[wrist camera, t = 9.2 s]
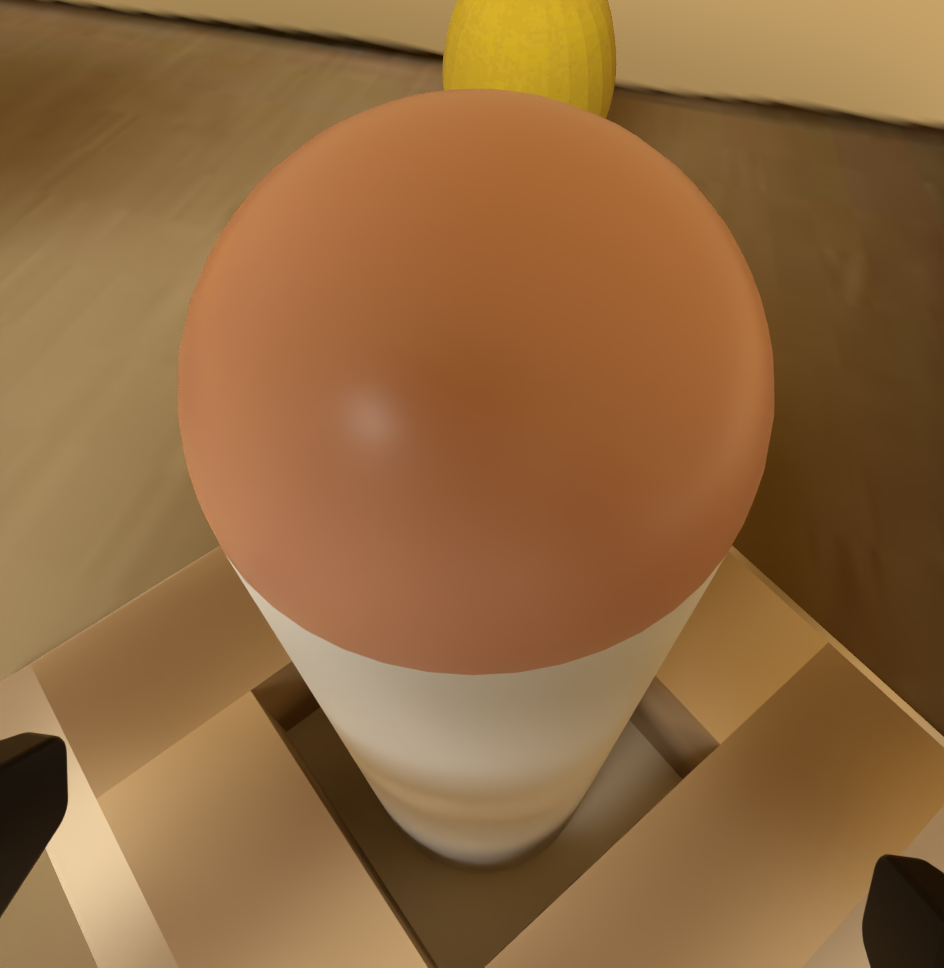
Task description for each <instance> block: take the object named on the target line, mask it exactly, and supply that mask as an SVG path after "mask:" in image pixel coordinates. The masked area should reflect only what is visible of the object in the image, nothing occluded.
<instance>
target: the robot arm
mask: <svg viewBox="0 0 944 968" xmlns="http://www.w3.org/2000/svg"><path fill="white" fill-rule="evenodd" d="M67 805H68V773H67V749H66V744H65V742H64V741H63V739H61V738H60V737H59V736H54V735H47V734H40V733H33V732H25V733H21V734H18V735H15V736H12V737H9V738H6V739H3V740H0V917H1V916H2V914H3V913H4V911H5V910H6V908H7V907H8V905H9V903H10V902H11V900H12V899H13V897H14V896H15V894H16V893H17V891H18V890H19V888H20V886H21V885H22V883H23V882H24V880H25V879H26V877H27V876H28V874H29V873H30V871H31V869H32V868H33V866H34V865H35V863H36V862H37V860H38V859H39V857H40V856H41V854H42V852H43V851H44V849H45V848H46V846H47V845H48V843H49V842H50V840H51V839H52V837H53V835H54V834H55V832H56V831H57V829H58V828H59V826H60V824H61V822H62V820H63V818H64V816H65V813H66V810H67ZM862 937H863V943H864V947H865V951H866V954H867V958H868V961H869V964H870V968H944V873H943V872H942V871H940V870H939V869H937V868H936V867H934V866H933V865H931V864H930V863H929V862H927V861H925V860H922V859H919V858H913V857H906V856H898V855H891V854H885V855H883V856H881V857H880V858H879V859H878V860H877V862H876V865H875V867H874V871H873V876H872V880H871V884H870V889H869V893H868V897H867V901H866V906H865V910H864V914H863V920H862Z"/></svg>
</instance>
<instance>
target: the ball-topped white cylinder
mask: <svg viewBox="0 0 944 968" xmlns="http://www.w3.org/2000/svg"><path fill="white" fill-rule="evenodd" d="M178 419H179V425H180V432H181V439H182V445H183V450H184V455H185V459H186V464H187V469H188V472H189V475H190V478H191V481H192V484H193V487H194V490H195V493H196V496H197V499H198V502H199V504H200V506H201V508H202V511H203V513H204V515H205V517H206V519H207V521H208V523H209V525H210V527H211V529H212V531H213V533H214V535H215V537H216V538H217V540H218V542H219V544H220V546H221V548H222V550H223V552H224V553H225V555H226V557H227V558H228V560H229V561H230V563H231V565H232V566H233V568H234V569H235V571H236V572H237V574H238V576H239V577H240V579H241V580H242V582H243V584H244V585H245V587H246V588H247V590H248V592H249V593H250V595H251V596H252V598H253V600H254V601H255V603H256V604H257V606H258V608H259V609H260V611H261V612H262V614H263V616H264V617H265V619H266V620H267V622H268V623H269V625H270V627H271V628H272V630H273V631H274V633H275V635H276V636H277V638H278V639H279V641H280V643H281V644H282V646H283V647H284V649H285V651H286V652H287V654H288V655H289V657H290V659H291V660H292V662H293V663H294V665H295V666H296V668H297V670H298V671H299V673H300V674H301V676H302V678H303V679H304V681H305V682H306V684H307V686H308V687H309V689H310V690H311V692H312V694H313V695H314V697H315V698H316V700H317V702H318V703H319V705H320V706H321V708H322V710H323V711H324V713H325V714H326V716H327V717H328V719H329V721H330V722H331V724H332V725H333V727H334V729H335V730H336V732H337V733H338V735H339V737H340V738H341V740H342V741H343V743H344V745H345V746H346V748H347V749H348V751H349V753H350V754H351V756H352V757H353V759H354V761H355V762H356V764H357V765H358V767H359V768H360V770H361V772H362V773H363V775H364V776H365V778H366V780H367V781H368V783H369V784H370V786H371V788H372V789H373V791H374V792H375V794H376V796H377V797H378V799H379V800H380V802H381V804H382V805H383V807H384V808H385V810H386V812H387V813H388V815H389V816H390V818H391V819H392V821H393V823H394V824H395V826H396V827H397V828H398V830H399V831H400V832H401V834H402V835H403V836H404V837H405V838H406V839H407V840H408V841H409V843H410V844H411V845H412V846H413V847H415V848H416V849H417V850H419V851H420V852H421V853H422V854H424V855H425V856H427V857H429V858H430V859H432V860H434V861H436V862H437V863H440V864H442V865H445V866H447V867H450V868H453V869H457V870H462V871H467V872H478V873H482V872H496V871H501V870H505V869H510V868H512V867H515V866H518V865H520V864H523V863H525V862H527V861H528V860H530V859H532V858H534V857H536V856H537V855H538V854H540V853H541V852H542V851H544V850H545V849H546V848H548V847H549V846H550V845H551V844H552V843H553V842H554V841H555V840H556V839H557V838H558V836H559V835H560V834H561V832H562V831H563V830H564V829H565V827H566V826H567V824H568V823H569V821H570V819H571V817H572V816H573V814H574V812H575V811H576V809H577V807H578V806H579V804H580V802H581V800H582V799H583V797H584V795H585V794H586V792H587V790H588V789H589V787H590V785H591V784H592V782H593V780H594V778H595V777H596V775H597V773H598V772H599V770H600V768H601V767H602V765H603V763H604V761H605V760H606V758H607V756H608V755H609V753H610V751H611V750H612V748H613V746H614V745H615V743H616V741H617V739H618V738H619V736H620V734H621V733H622V731H623V729H624V728H625V726H626V724H627V722H628V721H629V719H630V717H631V716H632V714H633V712H634V711H635V709H636V707H637V706H638V704H639V702H640V700H641V699H642V697H643V695H644V694H645V692H646V690H647V689H648V687H649V685H650V683H651V682H652V680H653V678H654V677H655V675H656V673H657V672H658V670H659V668H660V667H661V665H662V663H663V661H664V660H665V658H666V656H667V655H668V653H669V651H670V650H671V648H672V646H673V644H674V643H675V641H676V639H677V638H678V636H679V634H680V633H681V631H682V629H683V628H684V626H685V624H686V622H687V621H688V619H689V617H690V616H691V614H692V612H693V611H694V609H695V607H696V605H697V604H698V602H699V600H700V599H701V597H702V595H703V594H704V592H705V590H706V589H707V587H708V585H709V583H710V582H711V580H712V578H713V577H714V575H715V573H716V572H717V570H718V568H719V566H720V565H721V563H722V561H723V560H724V558H725V556H726V555H727V553H728V551H729V549H730V547H731V546H732V544H733V542H734V540H735V539H736V537H737V535H738V533H739V532H740V530H741V528H742V526H743V524H744V522H745V520H746V517H747V515H748V513H749V510H750V508H751V506H752V504H753V501H754V498H755V495H756V493H757V490H758V487H759V484H760V482H761V479H762V476H763V473H764V470H765V464H766V459H767V453H768V448H769V442H770V436H771V431H772V425H773V419H774V360H773V351H772V345H771V340H770V334H769V329H768V324H767V320H766V316H765V312H764V308H763V304H762V300H761V297H760V294H759V292H758V289H757V286H756V283H755V281H754V278H753V275H752V273H751V271H750V269H749V266H748V264H747V262H746V260H745V258H744V256H743V254H742V252H741V250H740V248H739V246H738V245H737V243H736V241H735V239H734V237H733V236H732V234H731V232H730V230H729V229H728V227H727V225H726V223H725V222H724V221H723V220H722V218H721V217H720V216H719V214H718V213H717V212H716V211H715V209H714V208H713V207H712V205H711V204H710V203H709V202H708V200H707V199H706V198H705V197H704V195H703V194H702V193H701V192H700V190H699V189H698V188H697V187H696V186H695V184H694V183H693V182H692V181H691V180H690V179H689V178H688V177H687V176H686V175H685V174H684V173H683V172H682V171H681V170H680V169H679V168H678V167H677V166H676V165H674V164H673V163H672V162H670V161H669V160H668V159H666V158H665V157H664V156H663V155H661V154H660V153H659V152H657V151H656V150H655V149H653V148H652V147H651V146H649V145H648V144H647V143H645V142H644V141H643V140H642V139H640V138H639V137H638V136H636V135H634V134H633V133H631V132H629V131H628V130H626V129H624V128H623V127H621V126H619V125H618V124H616V123H613V122H611V121H609V120H607V119H605V118H603V117H601V116H599V115H596V114H594V113H591V112H588V111H586V110H583V109H580V108H577V107H575V106H572V105H569V104H566V103H564V102H561V101H558V100H554V99H550V98H546V97H543V96H539V95H533V94H528V93H523V92H517V91H507V90H498V89H456V90H445V91H437V92H429V93H424V94H419V95H414V96H409V97H405V98H402V99H398V100H395V101H391V102H388V103H385V104H383V105H380V106H377V107H375V108H372V109H369V110H367V111H364V112H362V113H359V114H357V115H354V116H352V117H350V118H348V119H346V120H344V121H342V122H339V123H337V124H335V125H333V126H331V127H330V128H328V129H326V130H325V131H323V132H321V133H320V134H318V135H316V136H315V137H313V138H312V139H310V140H309V141H308V142H306V143H305V144H304V145H302V146H301V147H300V148H298V149H297V150H296V151H295V152H293V153H292V154H291V155H290V156H288V157H287V158H286V159H285V160H283V161H282V162H281V163H280V164H279V165H277V166H276V167H275V168H274V169H273V170H272V171H271V172H270V173H269V174H268V175H267V176H266V177H265V178H264V179H262V180H261V181H260V182H259V183H258V184H257V186H256V187H255V188H254V189H253V191H252V192H251V193H250V194H249V196H248V197H247V198H246V199H245V201H244V202H243V203H242V205H241V206H240V207H239V208H238V210H237V211H236V212H235V214H234V215H233V216H232V218H231V219H230V220H229V222H228V223H227V224H226V226H225V227H224V229H223V231H222V232H221V234H220V236H219V238H218V239H217V241H216V243H215V245H214V246H213V248H212V250H211V252H210V254H209V257H208V259H207V261H206V263H205V265H204V268H203V270H202V272H201V274H200V277H199V279H198V282H197V285H196V287H195V290H194V292H193V295H192V297H191V300H190V305H189V309H188V314H187V318H186V323H185V327H184V332H183V337H182V342H181V347H180V352H179V364H178Z"/></svg>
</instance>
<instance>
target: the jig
mask: <svg viewBox="0 0 944 968" xmlns="http://www.w3.org/2000/svg"><path fill="white" fill-rule="evenodd" d="M25 732H33V733H40V734H47V735H54V736H59V737H60V738H61V739H63V741H64V742H65V744H66V749H67V773H68V805H67V810H66V813H65V816H64V818H63V820H62V822H61V824H60V826H59V828H58V829H57V831H56V832H55V834H54V835H53V837H52V839H51V840H50V842H49V843H48V845H47V846H46V851H47V853H48V855H49V858H50V860H51V862H52V864H53V867H54V869H55V871H56V873H57V876H58V878H59V880H60V882H61V885H62V887H63V889H64V892H65V894H66V896H67V898H68V901H69V903H70V905H71V907H72V910H73V912H74V914H75V916H76V919H77V921H78V923H79V926H80V928H81V930H82V932H83V935H84V937H85V939H86V941H87V944H88V946H89V948H90V950H91V953H92V955H93V957H94V960H95V962H96V964H97V966H98V968H870V964H869V961H868V958H867V954H866V951H865V947H864V943H863V937H862V920H863V914H864V910H865V906H866V901H867V897H868V893H869V889H870V884H871V880H872V876H873V871H874V867H875V865H876V862H877V860H878V859H879V858H880V857H881V856H883V855H885V854H891V855H898V856H906V857H913V858H919V859H922V860H925V861H927V862H929V863H930V864H931V865H933V866H934V867H936V868H937V869H939V870H940V871H942V872H943V873H944V737H943V736H942V735H941V734H940V733H939V732H938V731H937V730H935V729H934V728H933V727H932V726H931V725H930V724H929V723H928V722H927V721H926V720H924V719H923V718H922V717H921V716H920V715H919V714H918V713H917V712H916V711H915V710H913V709H912V708H911V707H910V706H909V705H908V704H907V703H906V702H905V701H903V700H902V699H901V698H900V697H899V696H898V695H897V694H896V693H895V692H894V691H892V690H891V689H890V688H889V687H888V686H887V685H886V684H885V683H884V682H883V681H881V680H880V679H879V678H878V677H877V676H876V675H875V674H874V673H873V672H871V671H870V670H869V669H868V668H867V667H866V666H865V665H864V664H863V663H862V662H860V661H859V660H858V659H857V658H856V657H855V656H854V655H853V654H852V653H850V652H849V651H848V650H847V649H846V648H845V647H844V646H843V645H842V644H841V643H839V642H838V641H837V640H836V639H835V638H834V637H833V636H832V635H831V634H830V633H828V632H827V631H826V630H825V629H824V628H823V627H822V626H821V625H820V624H818V623H817V622H816V621H815V620H814V619H813V618H812V617H811V616H810V615H809V614H807V613H806V612H805V611H804V610H803V609H802V608H801V607H800V606H799V605H798V604H796V603H795V602H794V601H793V600H792V599H791V598H790V597H789V596H788V595H786V594H785V593H784V592H783V591H782V590H781V589H780V588H779V587H778V586H777V585H775V584H774V583H773V582H772V581H771V580H770V579H769V578H768V577H767V576H765V575H764V574H763V573H762V572H761V571H760V570H759V569H758V568H757V567H756V566H754V565H753V564H752V563H751V562H750V561H749V560H748V559H747V558H746V557H745V556H743V555H742V554H741V553H740V552H739V551H738V550H737V549H736V548H735V547H733V546H731V547H730V549H729V551H728V553H727V555H726V556H725V558H724V560H723V561H722V563H721V565H720V566H719V568H718V570H717V572H716V573H715V575H714V577H713V578H712V580H711V582H710V583H709V585H708V587H707V589H706V590H705V592H704V594H703V595H702V597H701V599H700V600H699V602H698V604H697V605H696V607H695V609H694V611H693V612H692V614H691V616H690V617H689V619H688V621H687V622H686V624H685V626H684V628H683V629H682V631H681V633H680V634H679V636H678V638H677V639H676V641H675V643H674V644H673V646H672V648H671V650H670V651H669V653H668V655H667V656H666V658H665V660H664V661H663V663H662V665H661V667H660V668H659V670H658V672H657V673H656V675H655V677H654V678H653V680H652V682H651V683H650V685H649V687H648V689H647V690H646V692H645V694H644V695H643V697H642V699H641V700H640V702H639V704H638V706H637V707H636V709H635V711H634V712H633V714H632V716H631V717H630V719H629V721H628V722H627V724H626V726H625V728H624V729H623V731H622V733H621V734H620V736H619V738H618V739H617V741H616V743H615V745H614V746H613V748H612V750H611V751H610V753H609V755H608V756H607V758H606V760H605V761H604V763H603V765H602V767H601V768H600V770H599V772H598V773H597V775H596V777H595V778H594V780H593V782H592V784H591V785H590V787H589V789H588V790H587V792H586V794H585V795H584V797H583V799H582V800H581V802H580V804H579V806H578V807H577V809H576V811H575V812H574V814H573V816H572V817H571V819H570V821H569V823H568V824H567V826H566V827H565V829H564V830H563V831H562V832H561V834H560V835H559V836H558V838H557V839H556V840H555V841H554V842H553V843H552V844H551V845H550V846H549V847H548V848H546V849H545V850H544V851H542V852H541V853H540V854H538V855H537V856H536V857H534V858H532V859H530V860H528V861H527V862H525V863H523V864H520V865H518V866H515V867H512V868H510V869H505V870H501V871H496V872H482V873H478V872H467V871H462V870H457V869H453V868H450V867H447V866H445V865H442V864H440V863H437V862H436V861H434V860H432V859H430V858H429V857H427V856H425V855H424V854H422V853H421V852H420V851H419V850H417V849H416V848H415V847H413V846H412V845H411V844H410V843H409V841H408V840H407V839H406V838H405V837H404V836H403V835H402V834H401V832H400V831H399V830H398V828H397V827H396V826H395V824H394V823H393V821H392V819H391V818H390V816H389V815H388V813H387V812H386V810H385V808H384V807H383V805H382V804H381V802H380V800H379V799H378V797H377V796H376V794H375V792H374V791H373V789H372V788H371V786H370V784H369V783H368V781H367V780H366V778H365V776H364V775H363V773H362V772H361V770H360V768H359V767H358V765H357V764H356V762H355V761H354V759H353V757H352V756H351V754H350V753H349V751H348V749H347V748H346V746H345V745H344V743H343V741H342V740H341V738H340V737H339V735H338V733H337V732H336V730H335V729H334V727H333V725H332V724H331V722H330V721H329V719H328V717H327V716H326V714H325V713H324V711H323V710H322V708H321V706H320V705H319V703H318V702H317V700H316V698H315V697H314V695H313V694H312V692H311V690H310V689H309V687H308V686H307V684H306V682H305V681H304V679H303V678H302V676H301V674H300V673H299V671H298V670H297V668H296V666H295V665H294V663H293V662H292V660H291V659H290V657H289V655H288V654H287V652H286V651H285V649H284V647H283V646H282V644H281V643H280V641H279V639H278V638H277V636H276V635H275V633H274V631H273V630H272V628H271V627H270V625H269V623H268V622H267V620H266V619H265V617H264V616H263V614H262V612H261V611H260V609H259V608H258V606H257V604H256V603H255V601H254V600H253V598H252V596H251V595H250V593H249V592H248V590H247V588H246V587H245V585H244V584H243V582H242V580H241V579H240V577H239V576H238V574H237V572H236V571H235V569H234V568H233V566H232V565H231V563H230V561H229V560H228V558H227V557H226V555H225V553H224V552H223V550H222V548H221V546H220V545H219V546H218V547H216V548H214V549H213V550H211V551H210V552H208V553H206V554H205V555H203V556H202V557H200V558H198V559H197V560H195V561H194V562H192V563H190V564H189V565H187V566H186V567H184V568H182V569H181V570H179V571H178V572H176V573H174V574H173V575H171V576H170V577H168V578H166V579H165V580H163V581H162V582H160V583H158V584H157V585H155V586H154V587H152V588H150V589H149V590H147V591H146V592H144V593H142V594H141V595H139V596H137V597H136V598H134V599H133V600H131V601H129V602H128V603H126V604H125V605H123V606H121V607H120V608H118V609H117V610H115V611H113V612H112V613H110V614H109V615H107V616H105V617H104V618H102V619H101V620H99V621H97V622H96V623H94V624H93V625H91V626H89V627H88V628H86V629H85V630H83V631H81V632H80V633H78V634H77V635H75V636H73V637H72V638H70V639H69V640H67V641H65V642H64V643H62V644H60V645H59V646H57V647H56V648H54V649H52V650H51V651H49V652H48V653H46V654H44V655H43V656H41V657H40V658H38V659H36V660H35V661H33V662H32V663H30V664H28V665H27V666H25V667H24V668H22V669H20V670H19V671H17V672H16V673H14V674H12V675H11V676H9V677H8V678H6V679H4V680H3V681H1V682H0V740H3V739H6V738H9V737H12V736H15V735H18V734H21V733H25Z"/></svg>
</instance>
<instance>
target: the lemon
mask: <svg viewBox="0 0 944 968" xmlns="http://www.w3.org/2000/svg"><path fill="white" fill-rule="evenodd" d="M615 76H616V47H615V36H614V30H613V22H612V16H611V11H610V7H609V4H608V0H457V2H456V5H455V7H454V11H453V14H452V17H451V20H450V24H449V28H448V32H447V37H446V42H445V49H444V57H443V89H444V91H445V90H456V89H498V90H507V91H517V92H523V93H528V94H533V95H539V96H543V97H546V98H550V99H554V100H558V101H561V102H564V103H566V104H569V105H572V106H575V107H577V108H580V109H583V110H586V111H588V112H591V113H594V114H596V115H599V116H601V117H603V118H605V119H606V117H607V114H608V111H609V108H610V104H611V101H612V97H613V91H614V86H615Z"/></svg>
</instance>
